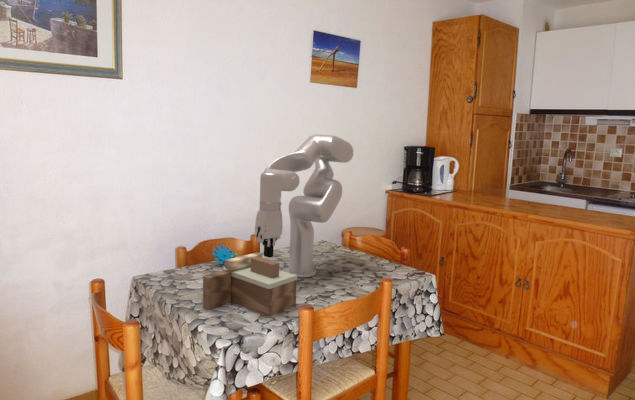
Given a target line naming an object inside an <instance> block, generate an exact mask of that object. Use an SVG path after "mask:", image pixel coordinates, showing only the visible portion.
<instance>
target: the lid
mask: <svg viewBox="0 0 635 400" xmlns="http://www.w3.org/2000/svg"><path fill="white" fill-rule="evenodd" d="M224 270H226V271H229V272H231V276H233V277H236V278H238V279H241V280H244V281H247V282H250V283H253V284H255V285H258V286H261V287H264V288H267V289H271V288H274V287H277V286H280V285H283V284H286V283H289V282H292V281H295V280H297V281H298V277H297V275H294V274H291V273H288V272H285V270H280V262H277V261H275V260H271V259H267V258H264V257H262V258H261V257H254V258H251V266H247V267H244V268H240V269H236V270H232V271H230V270H227V269H225V267H223V268H222V270H221V271H224Z"/></svg>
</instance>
